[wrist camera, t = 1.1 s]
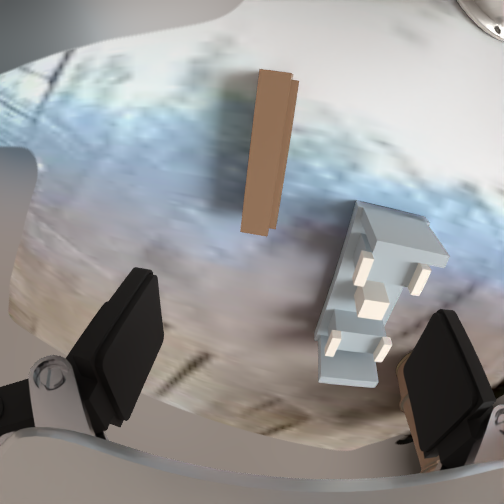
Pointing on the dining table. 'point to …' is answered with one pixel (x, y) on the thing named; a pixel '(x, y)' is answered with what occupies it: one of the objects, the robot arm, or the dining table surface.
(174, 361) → the dining table surface
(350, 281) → the display cradle
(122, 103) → the dining table surface
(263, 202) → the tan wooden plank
